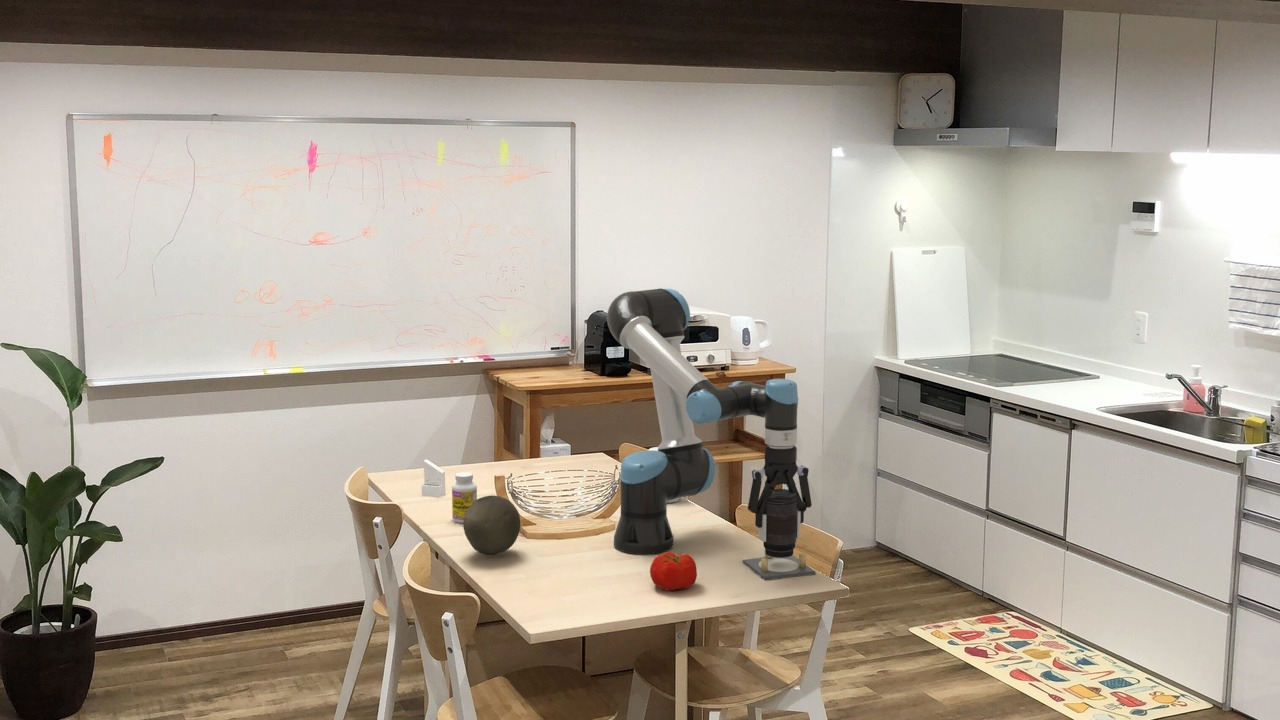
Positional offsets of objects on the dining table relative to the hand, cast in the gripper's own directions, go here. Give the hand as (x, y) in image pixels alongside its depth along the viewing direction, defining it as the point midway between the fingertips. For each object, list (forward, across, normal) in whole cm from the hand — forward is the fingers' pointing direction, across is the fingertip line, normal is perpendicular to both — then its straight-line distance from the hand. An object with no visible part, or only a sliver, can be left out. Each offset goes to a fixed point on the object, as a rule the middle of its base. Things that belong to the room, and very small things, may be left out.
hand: (779, 538), depth 293 cm
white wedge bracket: (+7, -68, +91) cm, 114 cm away
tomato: (+8, -28, -4) cm, 29 cm away
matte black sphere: (+7, -63, +31) cm, 71 cm away
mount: (+8, 0, 0) cm, 8 cm away
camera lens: (+4, 0, 0) cm, 4 cm away
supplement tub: (+7, -6, +65) cm, 66 cm away
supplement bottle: (+7, -64, +63) cm, 90 cm away
